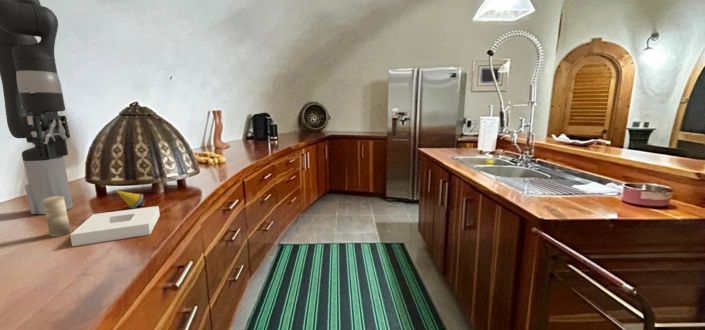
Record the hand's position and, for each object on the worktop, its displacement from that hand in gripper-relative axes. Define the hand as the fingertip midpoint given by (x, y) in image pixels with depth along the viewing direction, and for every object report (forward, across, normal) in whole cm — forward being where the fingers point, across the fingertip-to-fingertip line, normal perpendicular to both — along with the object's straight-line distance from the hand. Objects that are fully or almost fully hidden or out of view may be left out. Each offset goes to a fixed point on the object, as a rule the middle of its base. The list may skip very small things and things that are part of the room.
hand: (54, 157), depth 78 cm
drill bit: (+20, -19, +10) cm, 30 cm away
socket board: (+21, 0, +12) cm, 24 cm away
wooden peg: (+21, -2, -2) cm, 21 cm away
